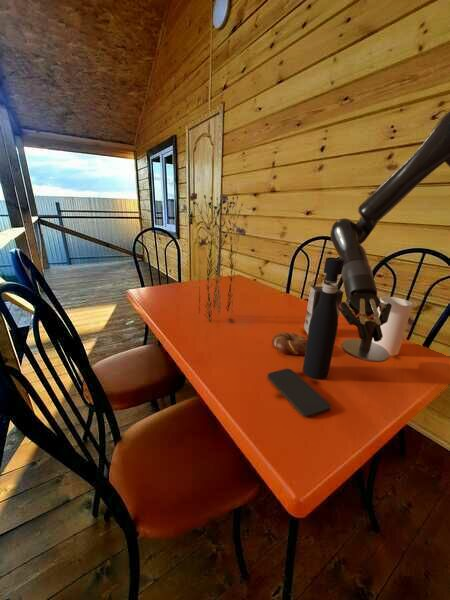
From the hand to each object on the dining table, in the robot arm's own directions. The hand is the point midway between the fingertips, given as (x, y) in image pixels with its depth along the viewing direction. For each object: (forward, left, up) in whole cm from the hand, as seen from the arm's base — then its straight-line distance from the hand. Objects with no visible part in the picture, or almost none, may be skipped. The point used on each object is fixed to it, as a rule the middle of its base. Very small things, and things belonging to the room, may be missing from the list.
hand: (371, 340), depth 63 cm
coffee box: (+6, -24, -10) cm, 27 cm away
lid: (0, -2, -4) cm, 5 cm away
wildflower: (+44, -29, -10) cm, 54 cm away
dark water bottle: (+12, +1, -10) cm, 16 cm away
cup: (-12, -16, -10) cm, 22 cm away
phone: (+18, +10, -10) cm, 23 cm away
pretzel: (+17, -11, -10) cm, 23 cm away
